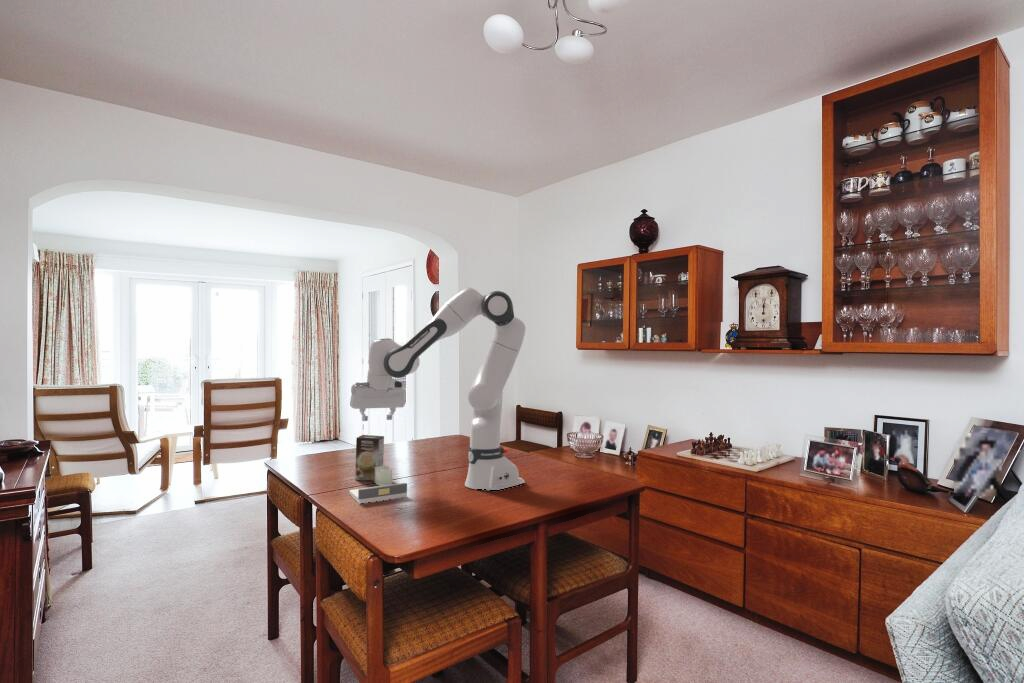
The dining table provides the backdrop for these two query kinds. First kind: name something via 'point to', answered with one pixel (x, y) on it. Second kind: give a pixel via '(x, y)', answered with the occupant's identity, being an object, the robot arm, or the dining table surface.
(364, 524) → the dining table surface
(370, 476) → the coffee box
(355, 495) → the shelf board
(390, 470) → the carton
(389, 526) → the dining table surface
